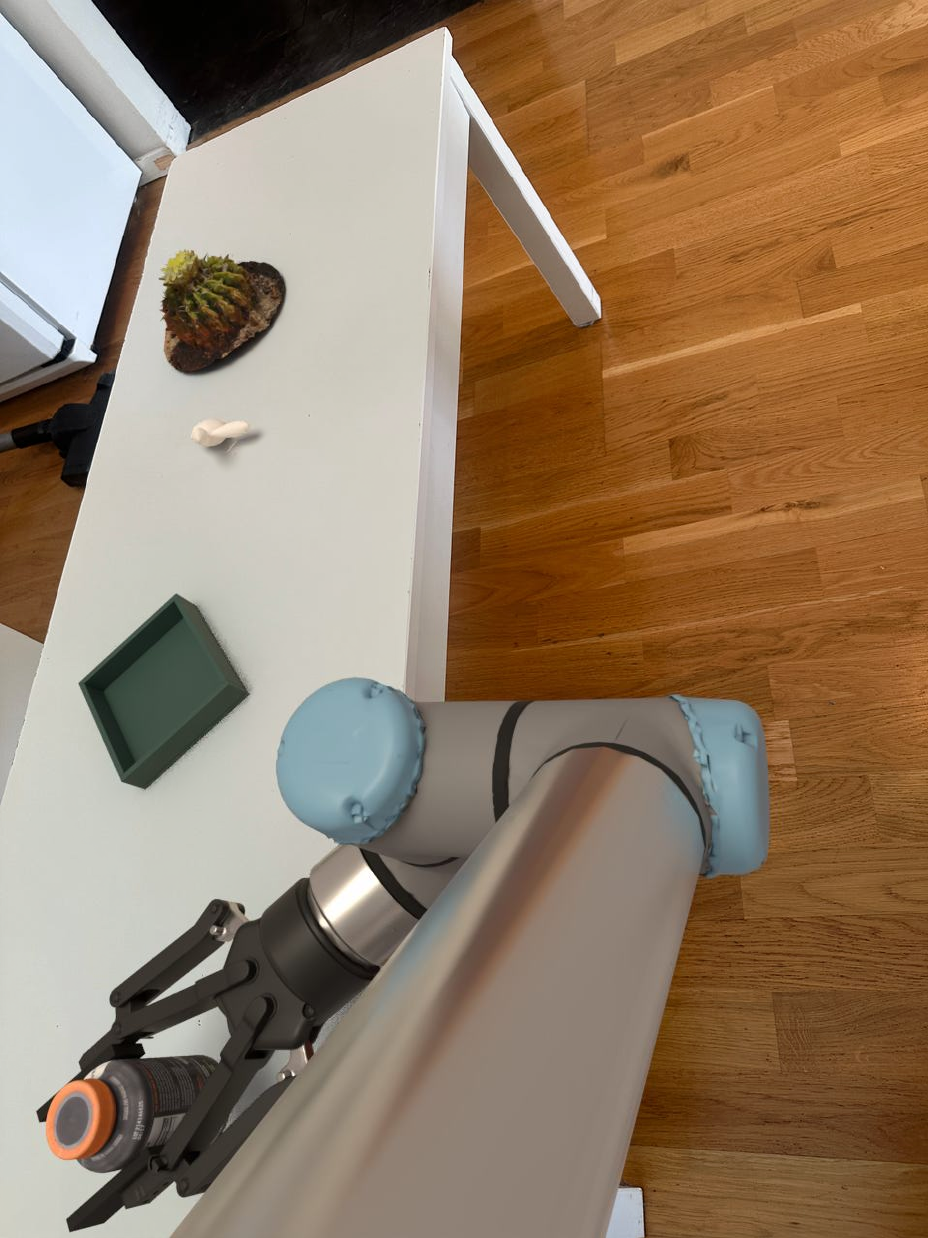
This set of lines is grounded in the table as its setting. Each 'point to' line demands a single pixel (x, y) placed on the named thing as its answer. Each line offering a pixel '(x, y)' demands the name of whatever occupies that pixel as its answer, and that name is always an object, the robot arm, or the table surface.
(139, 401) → the table surface
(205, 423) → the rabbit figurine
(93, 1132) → the pill bottle
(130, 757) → the tray
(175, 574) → the table surface
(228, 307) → the cactus
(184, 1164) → the robot arm
